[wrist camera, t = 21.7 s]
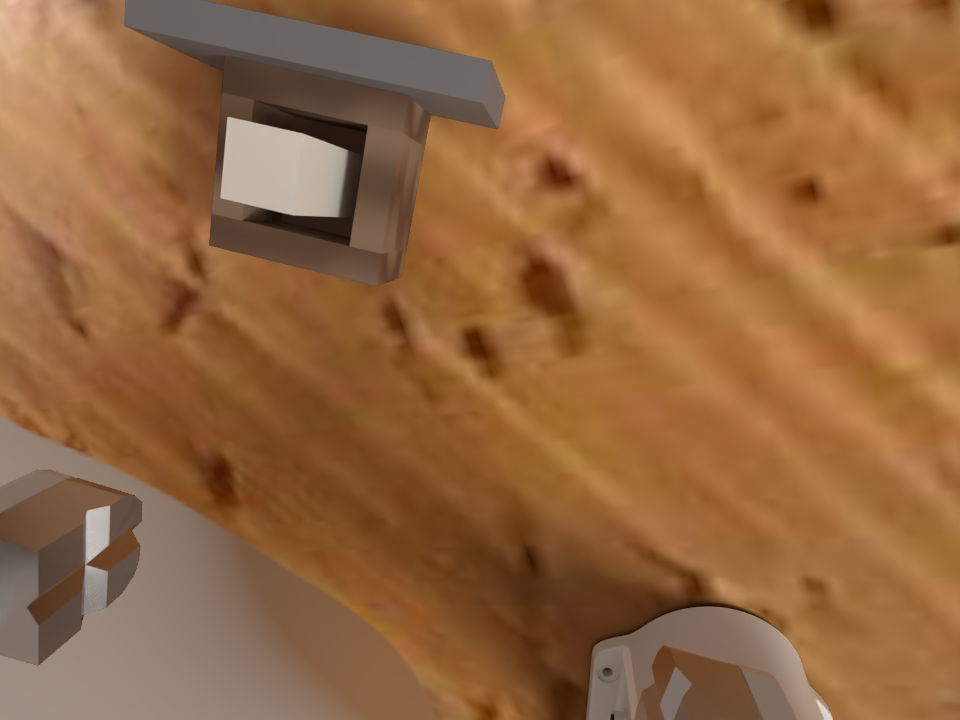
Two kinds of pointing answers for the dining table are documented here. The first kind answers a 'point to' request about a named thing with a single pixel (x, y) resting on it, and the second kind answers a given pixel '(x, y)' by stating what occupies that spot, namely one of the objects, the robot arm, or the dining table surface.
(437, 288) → the dining table surface
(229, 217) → the brown square open box
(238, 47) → the wall
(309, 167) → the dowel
